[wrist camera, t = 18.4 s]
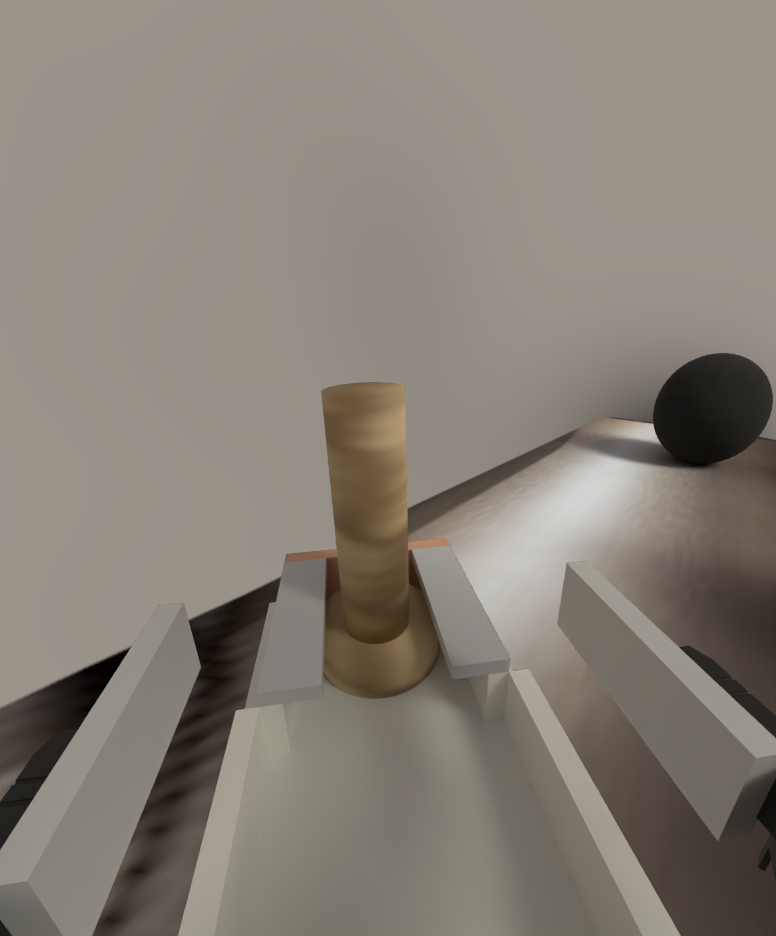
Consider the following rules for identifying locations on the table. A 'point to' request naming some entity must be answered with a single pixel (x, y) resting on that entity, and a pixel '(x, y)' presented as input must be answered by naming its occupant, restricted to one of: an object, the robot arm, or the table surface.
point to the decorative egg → (712, 408)
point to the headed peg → (372, 548)
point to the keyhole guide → (407, 792)
